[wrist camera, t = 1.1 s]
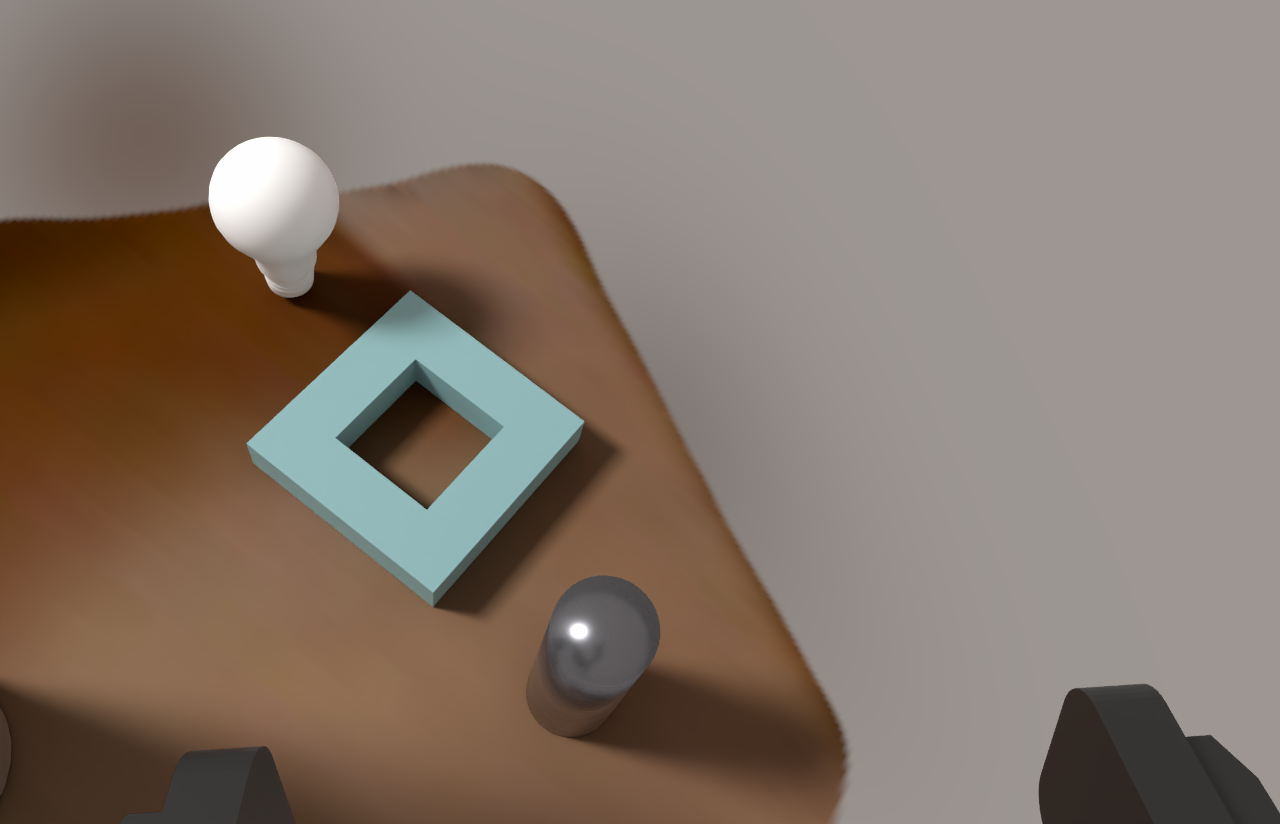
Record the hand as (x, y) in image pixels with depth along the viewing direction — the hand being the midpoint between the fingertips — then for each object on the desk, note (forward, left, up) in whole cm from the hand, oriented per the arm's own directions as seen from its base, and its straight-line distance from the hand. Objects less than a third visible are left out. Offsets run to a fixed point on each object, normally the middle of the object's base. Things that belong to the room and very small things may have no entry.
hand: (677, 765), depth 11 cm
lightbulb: (+18, +29, -44) cm, 55 cm away
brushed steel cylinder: (+10, +3, -43) cm, 45 cm away
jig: (+15, +17, -43) cm, 49 cm away
